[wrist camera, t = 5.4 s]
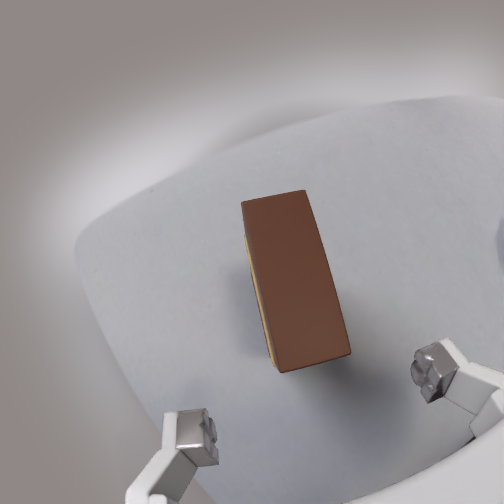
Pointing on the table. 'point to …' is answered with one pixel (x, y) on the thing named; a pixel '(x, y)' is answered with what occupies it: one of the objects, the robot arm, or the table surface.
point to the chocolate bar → (293, 282)
